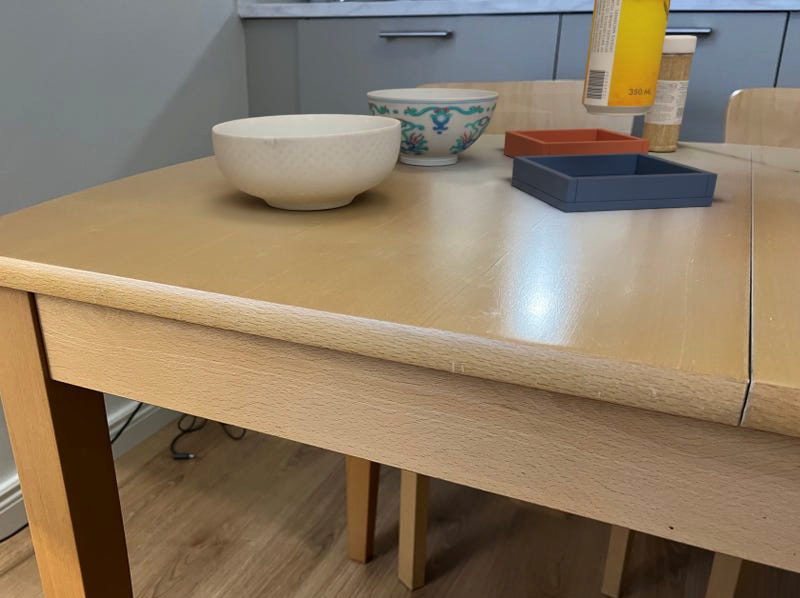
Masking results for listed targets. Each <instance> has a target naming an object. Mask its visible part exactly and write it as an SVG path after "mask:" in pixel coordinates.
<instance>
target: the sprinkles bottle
mask: <svg viewBox="0 0 800 598" xmlns="http://www.w3.org/2000/svg"><path fill="white" fill-rule="evenodd" d="M697 40H698V37H697V36H695V35H689V34H688V35H687V34H686V35H683V34H682V35H665V38H664V44H663V51H662V57H661V63H660V69H659V75H658V81H657V87H656V94H655V100H654V105H653V106H652V107H650V108H649V109H648V110H647V111H646V114H645V115H644V119H643V122H644V123H643V129H642V135H641V138H642V139H646V140H650V145H649V151H648V152H655V153H668V152H675V151H676V150H678V141H679V136H680V129H681V125H682V122H683V118H684V117H683V116H684V111H685V105H686V100H687V94H688V88H689V83H690V74H691V67H692V62H693V61H692V60H693V57H694V56H695V52H696V48H697Z"/></svg>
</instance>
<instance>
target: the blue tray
mask: <svg viewBox="0 0 800 598" xmlns="http://www.w3.org/2000/svg"><path fill="white" fill-rule="evenodd" d="M717 180H718V173H716V172H713V171H708V170H705V169H701V168H698V167H694V166H691V165H688V164H683V163H680V162H677V161H673V160H669V159H666V158H662V157H659V156H655V155H651V154H649V153H648V154H645V153H610V154H579V155H548V156H522V157H521V156H518V157H514V158H513V162H512V173H511V184H510V185H511V186H513V187H515V188H517V189H519V190H521V191H523V192H525V193H527V194H529V195H531V196H533V197H535V198H537V199H539V200H541V201H542V202H545V203H547V204H549V205H550V206H552V207H554V208H557V209H558V210H560V211H562V212H564V213H576V212H577V213H578V212H580V213H581V212H600V211H625V210H627V211H628V210H648V209H670V208H674V209H675V208H695V207H712V204H713V200H714V194H715V190H716V186H717V185H716V184H717Z"/></svg>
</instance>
